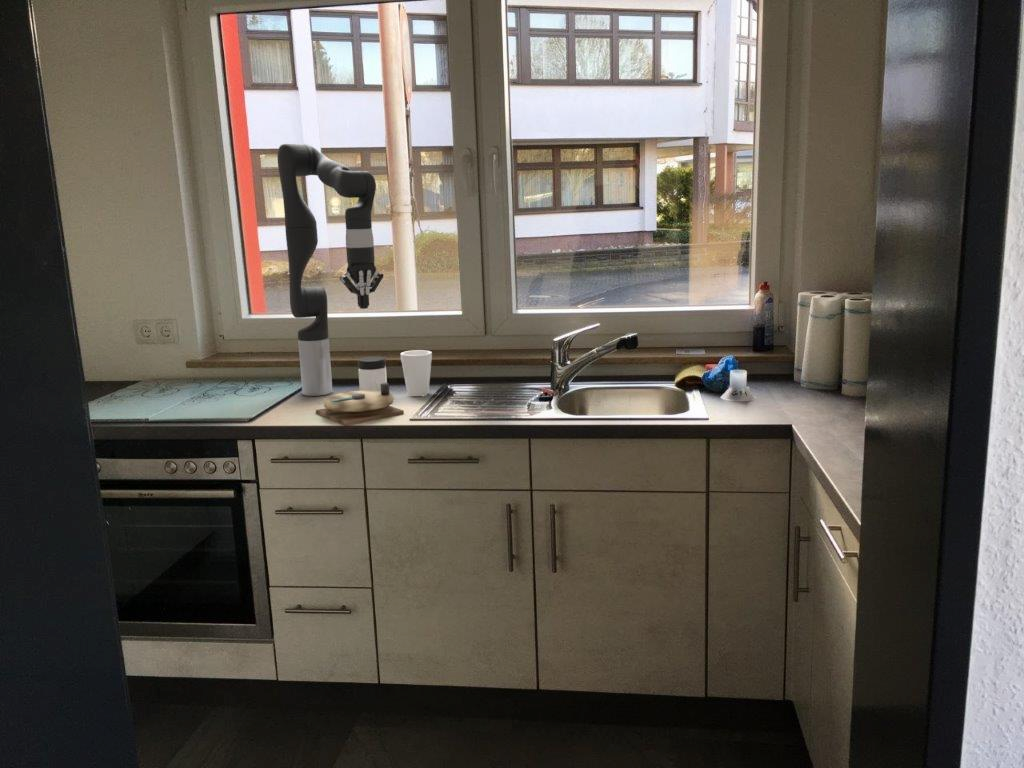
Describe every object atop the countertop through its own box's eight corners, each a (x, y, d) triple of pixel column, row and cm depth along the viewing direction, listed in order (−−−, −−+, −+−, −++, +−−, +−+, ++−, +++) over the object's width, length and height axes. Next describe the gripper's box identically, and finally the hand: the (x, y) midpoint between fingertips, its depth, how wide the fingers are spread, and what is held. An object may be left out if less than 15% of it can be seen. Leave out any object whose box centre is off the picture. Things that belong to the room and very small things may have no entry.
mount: (315, 413, 235) (315, 404, 234) (372, 402, 246) (371, 394, 245) (345, 425, 221) (344, 415, 220) (403, 413, 232) (403, 404, 231)
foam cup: (431, 397, 251) (429, 355, 248) (400, 398, 251) (398, 356, 248) (434, 390, 260) (433, 349, 257) (405, 391, 260) (403, 350, 257)
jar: (365, 402, 247) (363, 362, 244) (355, 397, 254) (352, 358, 251) (393, 397, 252) (391, 358, 249) (381, 393, 258) (379, 355, 256)
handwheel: (337, 415, 220) (336, 398, 219) (315, 401, 236) (314, 386, 235) (403, 405, 229) (402, 389, 229) (378, 392, 246) (377, 377, 245)
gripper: (344, 247, 222) (348, 311, 226) (387, 244, 230) (391, 307, 234) (331, 246, 228) (336, 309, 231) (374, 244, 236) (377, 305, 239)
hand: (363, 308), depth 233 cm, fingers closed
